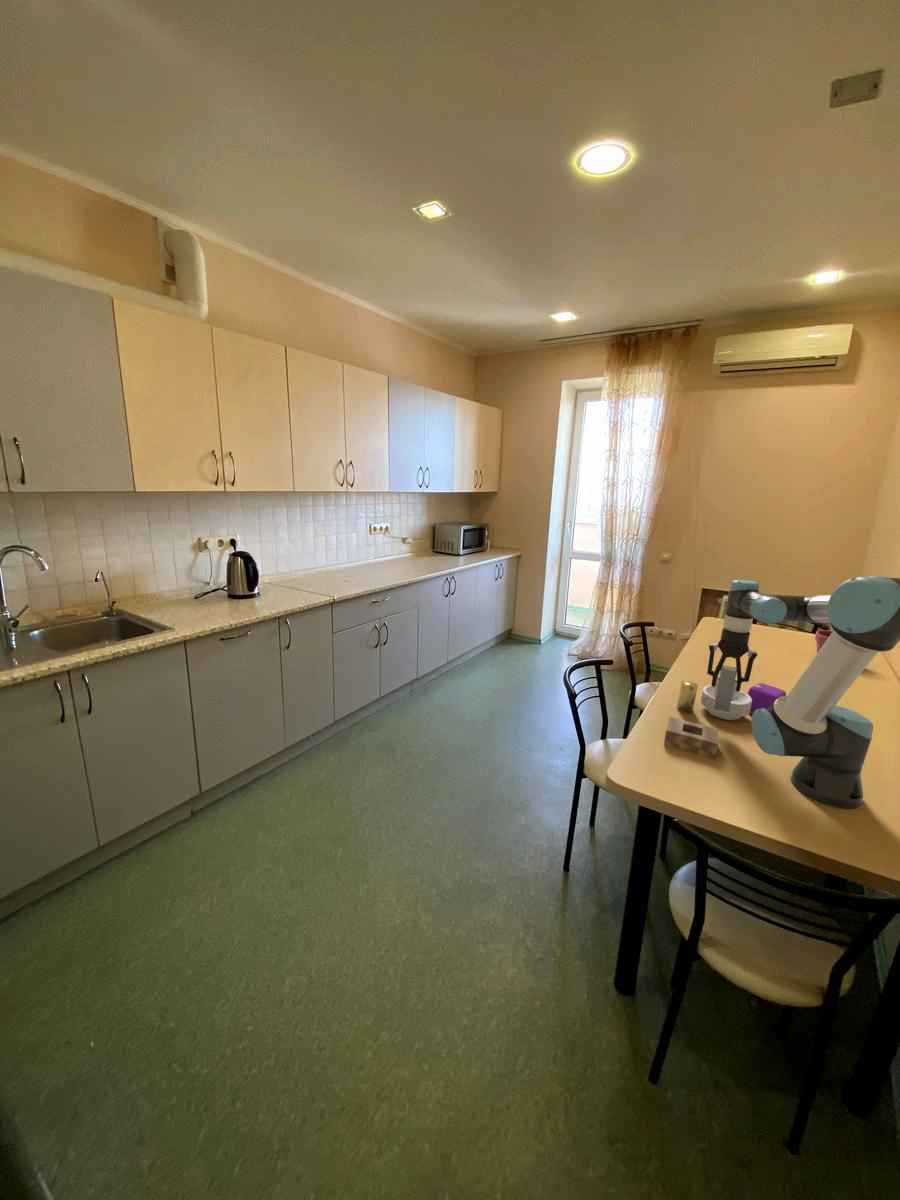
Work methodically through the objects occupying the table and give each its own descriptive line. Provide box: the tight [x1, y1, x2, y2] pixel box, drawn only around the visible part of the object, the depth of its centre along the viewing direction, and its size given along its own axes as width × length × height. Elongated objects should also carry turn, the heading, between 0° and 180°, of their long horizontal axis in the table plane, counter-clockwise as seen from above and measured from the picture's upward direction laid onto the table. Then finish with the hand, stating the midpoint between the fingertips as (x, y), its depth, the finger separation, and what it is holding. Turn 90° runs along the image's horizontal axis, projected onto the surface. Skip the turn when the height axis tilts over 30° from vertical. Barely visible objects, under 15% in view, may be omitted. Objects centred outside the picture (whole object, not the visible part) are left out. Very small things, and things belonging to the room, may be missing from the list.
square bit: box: [714, 664, 737, 712], centre depth 152 cm, size 4×4×14 cm
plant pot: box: [814, 629, 833, 654], centre depth 222 cm, size 14×14×13 cm
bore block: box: [663, 716, 719, 760], centre depth 145 cm, size 14×10×5 cm
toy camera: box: [747, 682, 787, 714], centre depth 168 cm, size 11×14×10 cm
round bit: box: [676, 680, 699, 714], centre depth 167 cm, size 5×5×10 cm
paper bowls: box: [700, 684, 752, 721], centre depth 165 cm, size 15×15×8 cm
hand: (723, 697), depth 153 cm, fingers closed on square bit, 4 cm apart
